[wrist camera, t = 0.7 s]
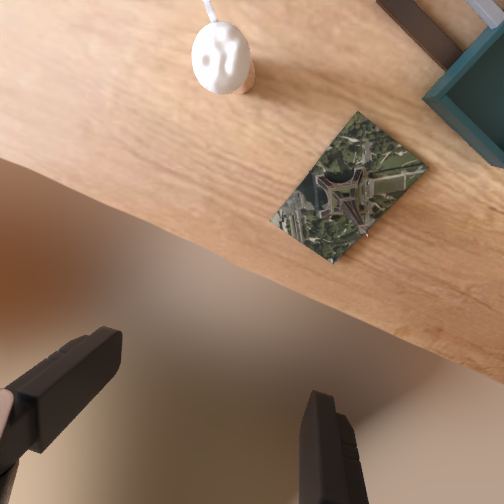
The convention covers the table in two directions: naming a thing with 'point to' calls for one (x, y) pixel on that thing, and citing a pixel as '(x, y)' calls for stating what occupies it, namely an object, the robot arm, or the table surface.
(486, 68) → the tray
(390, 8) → the runners
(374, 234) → the table surface
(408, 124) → the table surface
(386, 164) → the eiffel tower figurine
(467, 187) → the table surface
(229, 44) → the milkshake
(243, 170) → the table surface
